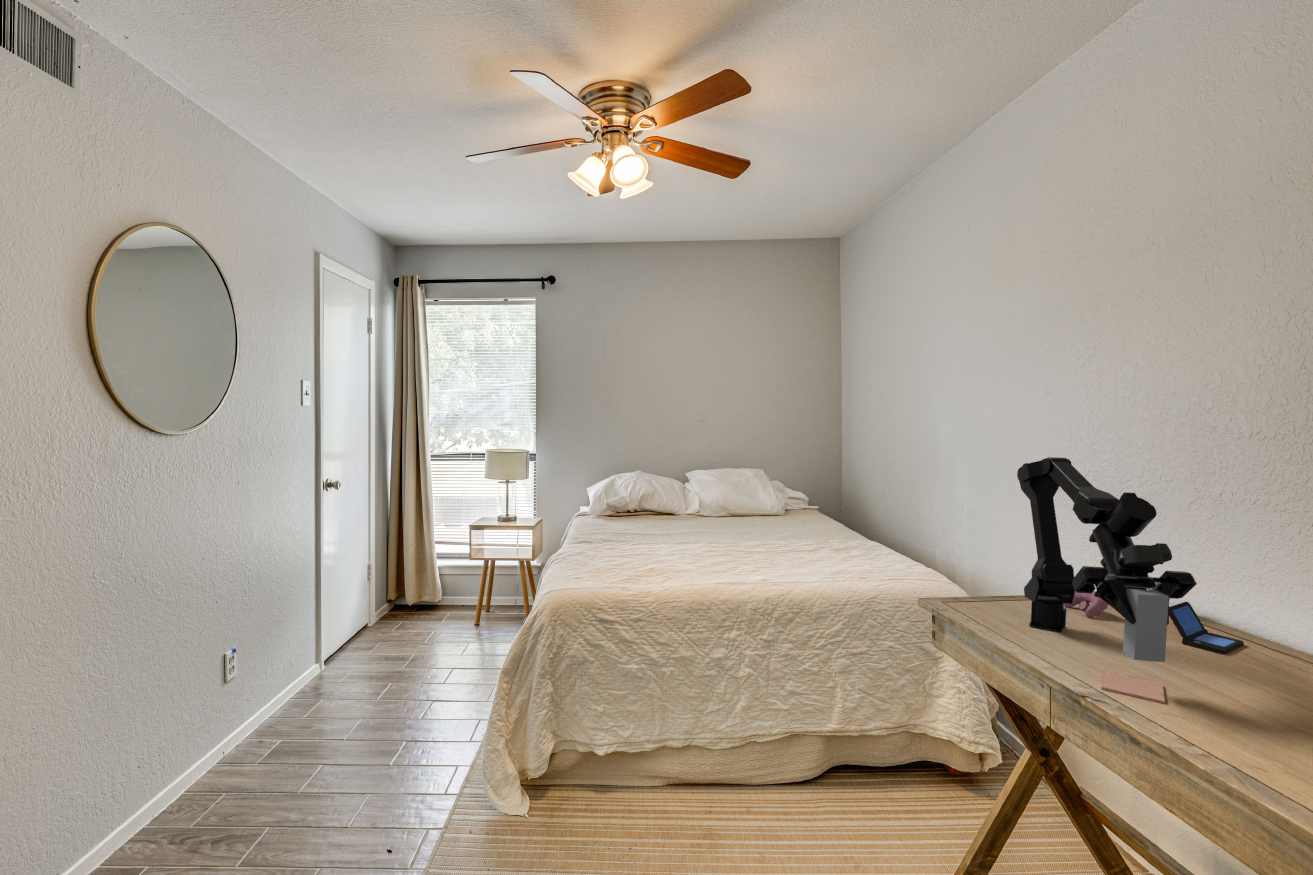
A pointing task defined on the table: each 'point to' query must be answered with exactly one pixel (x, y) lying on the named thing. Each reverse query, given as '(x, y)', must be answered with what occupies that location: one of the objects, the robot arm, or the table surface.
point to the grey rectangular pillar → (1146, 625)
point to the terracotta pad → (1133, 687)
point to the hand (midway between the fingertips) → (1150, 623)
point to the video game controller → (1088, 603)
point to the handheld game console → (1199, 631)
